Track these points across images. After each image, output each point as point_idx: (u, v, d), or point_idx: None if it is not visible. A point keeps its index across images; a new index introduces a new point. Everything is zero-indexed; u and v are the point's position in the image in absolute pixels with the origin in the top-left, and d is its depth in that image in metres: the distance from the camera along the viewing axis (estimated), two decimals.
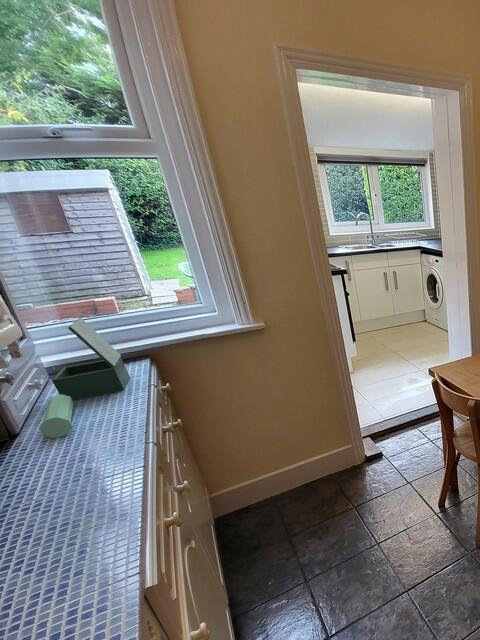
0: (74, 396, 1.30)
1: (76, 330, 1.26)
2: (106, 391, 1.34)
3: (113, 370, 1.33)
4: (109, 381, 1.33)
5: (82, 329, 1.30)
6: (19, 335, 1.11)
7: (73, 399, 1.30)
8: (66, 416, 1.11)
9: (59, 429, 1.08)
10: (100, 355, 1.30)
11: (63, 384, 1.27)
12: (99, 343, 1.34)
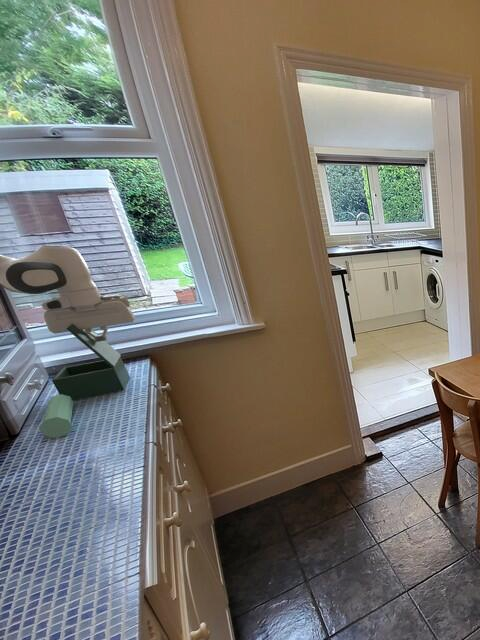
0: (74, 396, 1.30)
1: (75, 331, 1.26)
2: (106, 391, 1.34)
3: (113, 370, 1.33)
4: (109, 381, 1.33)
5: (81, 330, 1.30)
6: (121, 322, 1.34)
7: (73, 399, 1.30)
8: (66, 416, 1.11)
9: (59, 429, 1.08)
10: (100, 355, 1.30)
11: (63, 384, 1.27)
12: (98, 344, 1.34)
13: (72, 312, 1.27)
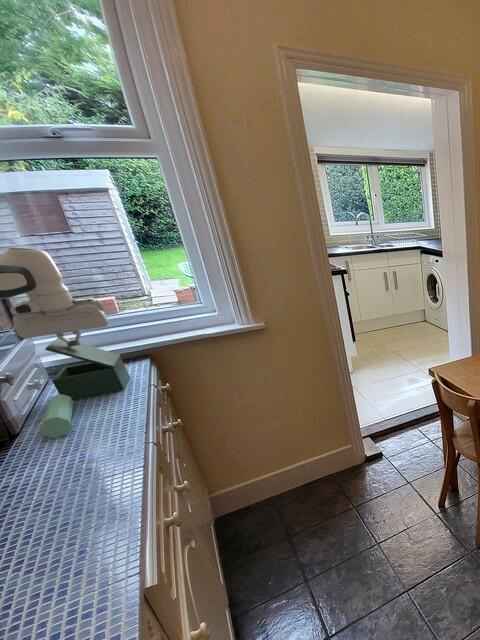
0: (74, 396, 1.30)
1: (55, 348, 1.25)
2: (106, 391, 1.34)
3: (113, 370, 1.33)
4: (109, 381, 1.33)
5: (63, 346, 1.29)
6: (94, 326, 1.31)
7: (73, 399, 1.30)
8: (66, 416, 1.11)
9: (59, 429, 1.08)
10: (93, 361, 1.30)
11: (63, 384, 1.27)
12: (88, 352, 1.33)
13: (43, 316, 1.24)
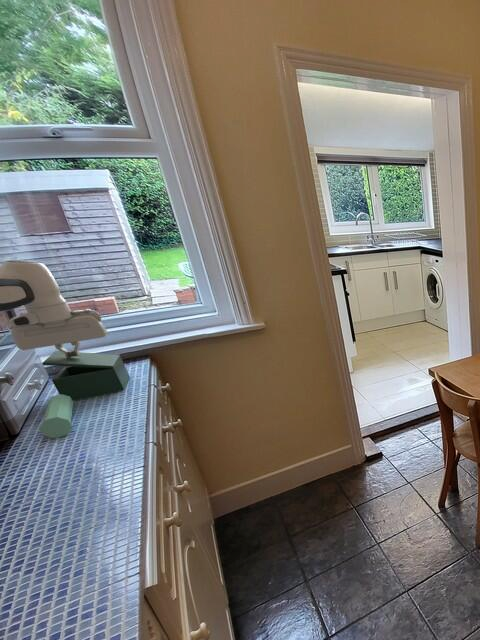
0: (74, 396, 1.30)
1: (51, 362, 1.25)
2: (106, 391, 1.34)
3: (113, 370, 1.33)
4: (109, 381, 1.33)
5: (59, 358, 1.29)
6: (92, 337, 1.31)
7: (73, 399, 1.30)
8: (66, 416, 1.11)
9: (59, 429, 1.08)
10: (92, 366, 1.30)
11: (63, 384, 1.27)
12: (86, 358, 1.33)
13: (41, 328, 1.24)
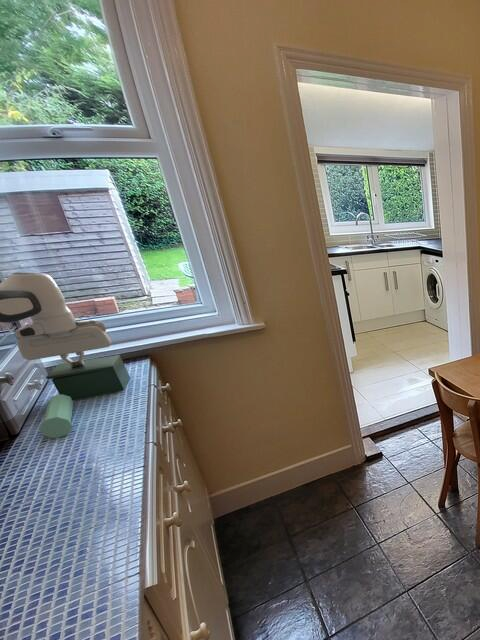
0: (74, 396, 1.30)
1: (54, 374, 1.26)
2: (106, 391, 1.34)
3: (113, 370, 1.33)
4: (109, 381, 1.33)
5: (62, 369, 1.30)
6: (97, 347, 1.33)
7: (73, 399, 1.30)
8: (66, 416, 1.11)
9: (59, 429, 1.08)
10: (93, 370, 1.30)
11: (63, 384, 1.27)
12: (87, 364, 1.34)
13: (46, 338, 1.26)
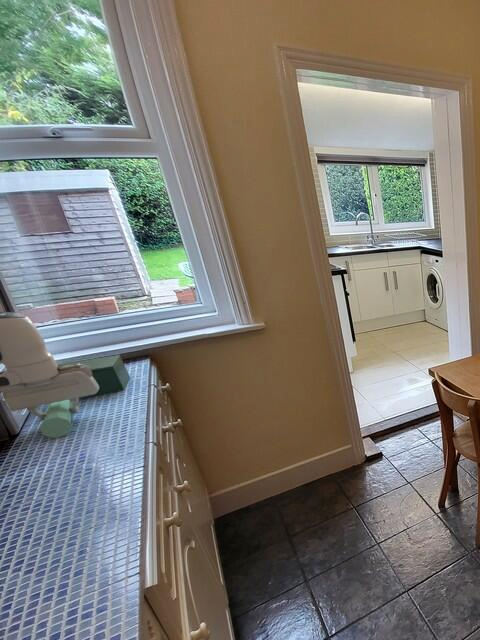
0: None
1: None
2: (106, 391, 1.34)
3: (113, 370, 1.33)
4: (109, 381, 1.33)
5: None
6: (82, 394, 1.17)
7: None
8: (66, 416, 1.11)
9: (59, 429, 1.08)
10: (93, 370, 1.30)
11: None
12: (87, 364, 1.34)
13: (23, 388, 1.09)
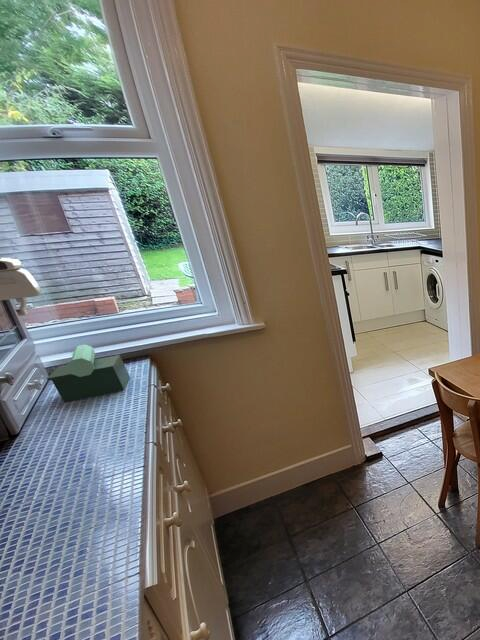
0: (74, 396, 1.30)
1: (55, 376, 1.27)
2: (106, 391, 1.34)
3: (113, 370, 1.33)
4: (109, 381, 1.33)
5: (63, 370, 1.30)
6: None
7: (73, 399, 1.30)
8: (89, 359, 1.28)
9: (83, 369, 1.25)
10: (93, 370, 1.30)
11: (63, 384, 1.27)
12: None
13: None
